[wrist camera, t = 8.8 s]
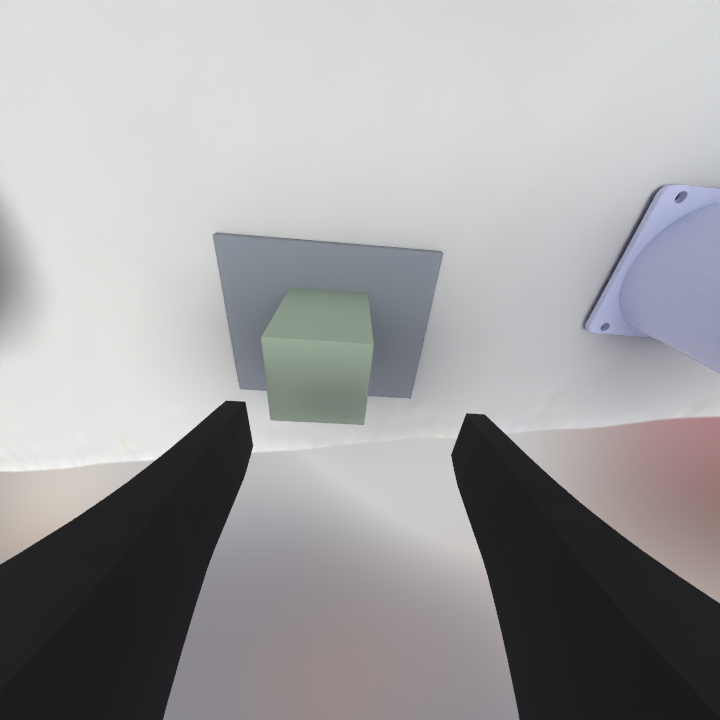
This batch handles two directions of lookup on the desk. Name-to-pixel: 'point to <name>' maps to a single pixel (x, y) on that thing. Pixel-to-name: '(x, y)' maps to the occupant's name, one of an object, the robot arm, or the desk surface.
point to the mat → (336, 273)
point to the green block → (319, 357)
